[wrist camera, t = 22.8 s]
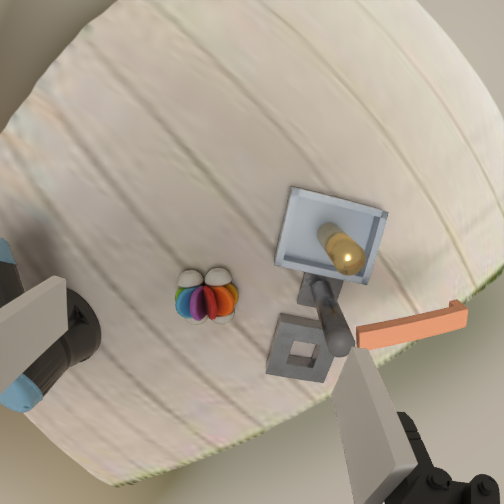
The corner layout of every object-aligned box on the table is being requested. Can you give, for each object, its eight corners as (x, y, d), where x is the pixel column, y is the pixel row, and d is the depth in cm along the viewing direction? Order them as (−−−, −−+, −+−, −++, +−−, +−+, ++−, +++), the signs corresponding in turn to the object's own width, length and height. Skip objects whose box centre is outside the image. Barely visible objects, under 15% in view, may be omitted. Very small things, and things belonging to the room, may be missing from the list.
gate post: (296, 301, 50) (305, 356, 35) (306, 265, 48) (321, 310, 33) (332, 308, 50) (354, 363, 35) (343, 273, 48) (372, 319, 33)
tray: (274, 258, 48) (274, 265, 45) (291, 185, 45) (292, 187, 42) (361, 277, 48) (366, 285, 45) (381, 209, 45) (388, 212, 42)
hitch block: (265, 363, 53) (265, 373, 50) (280, 313, 50) (280, 321, 47) (321, 372, 53) (323, 382, 50) (339, 324, 50) (343, 333, 47)
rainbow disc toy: (242, 314, 51) (237, 337, 44) (183, 317, 52) (171, 339, 45) (236, 264, 49) (231, 281, 42) (175, 268, 49) (160, 284, 42)
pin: (314, 243, 46) (329, 271, 34) (320, 219, 45) (338, 239, 33) (337, 249, 46) (360, 278, 34) (343, 225, 46) (369, 247, 33)
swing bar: (455, 318, 34) (465, 328, 31) (324, 345, 36) (328, 359, 33) (457, 297, 33) (468, 306, 31) (323, 323, 35) (327, 336, 32)
